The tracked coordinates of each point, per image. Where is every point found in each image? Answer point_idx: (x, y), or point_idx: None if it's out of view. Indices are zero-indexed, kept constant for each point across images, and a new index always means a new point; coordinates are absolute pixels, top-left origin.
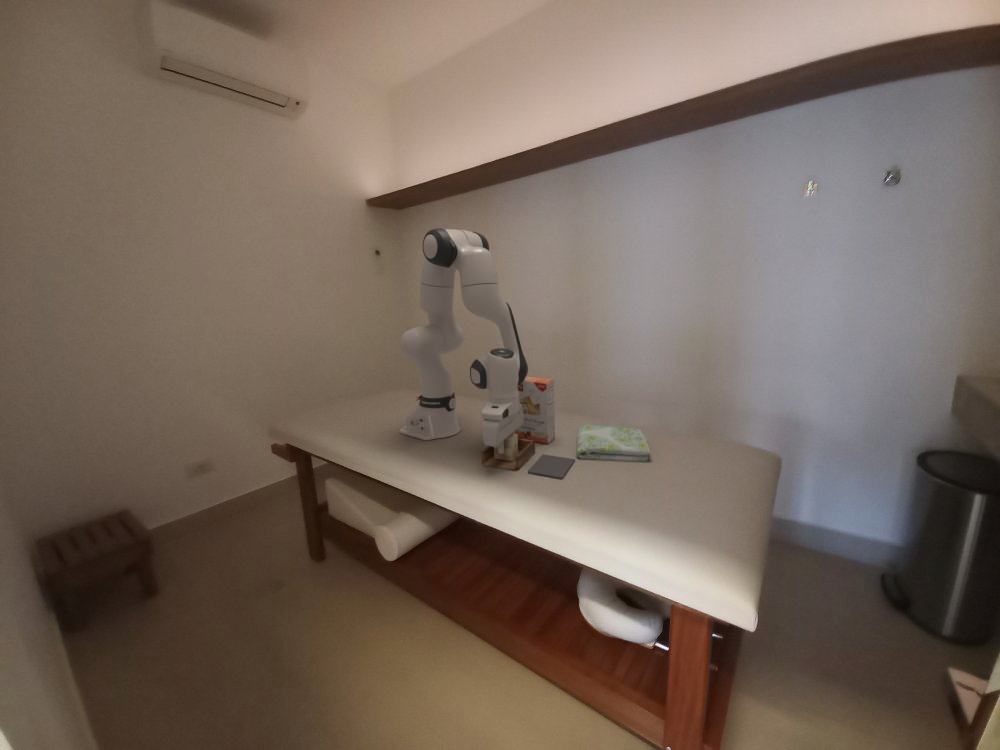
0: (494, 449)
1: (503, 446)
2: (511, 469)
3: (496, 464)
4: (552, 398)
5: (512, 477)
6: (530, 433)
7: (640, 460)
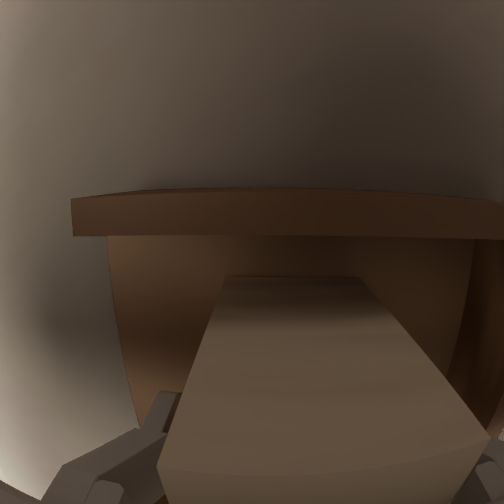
0: (211, 321)
1: (146, 494)
2: None
3: (141, 332)
4: None
5: (88, 441)
6: None
7: None
